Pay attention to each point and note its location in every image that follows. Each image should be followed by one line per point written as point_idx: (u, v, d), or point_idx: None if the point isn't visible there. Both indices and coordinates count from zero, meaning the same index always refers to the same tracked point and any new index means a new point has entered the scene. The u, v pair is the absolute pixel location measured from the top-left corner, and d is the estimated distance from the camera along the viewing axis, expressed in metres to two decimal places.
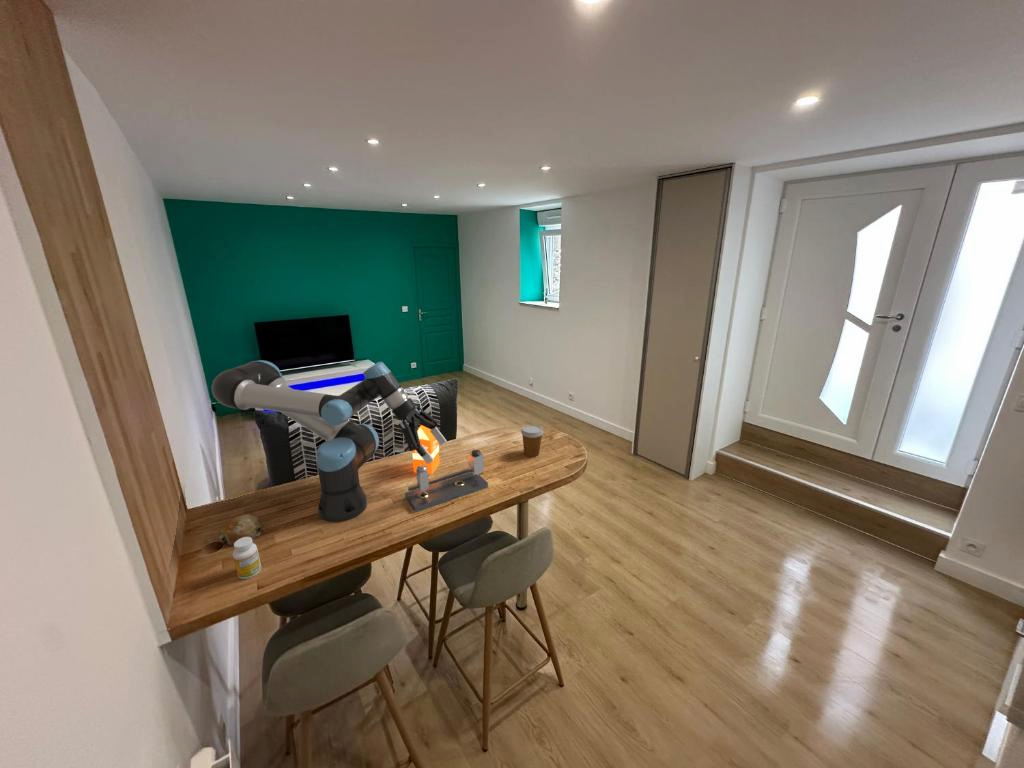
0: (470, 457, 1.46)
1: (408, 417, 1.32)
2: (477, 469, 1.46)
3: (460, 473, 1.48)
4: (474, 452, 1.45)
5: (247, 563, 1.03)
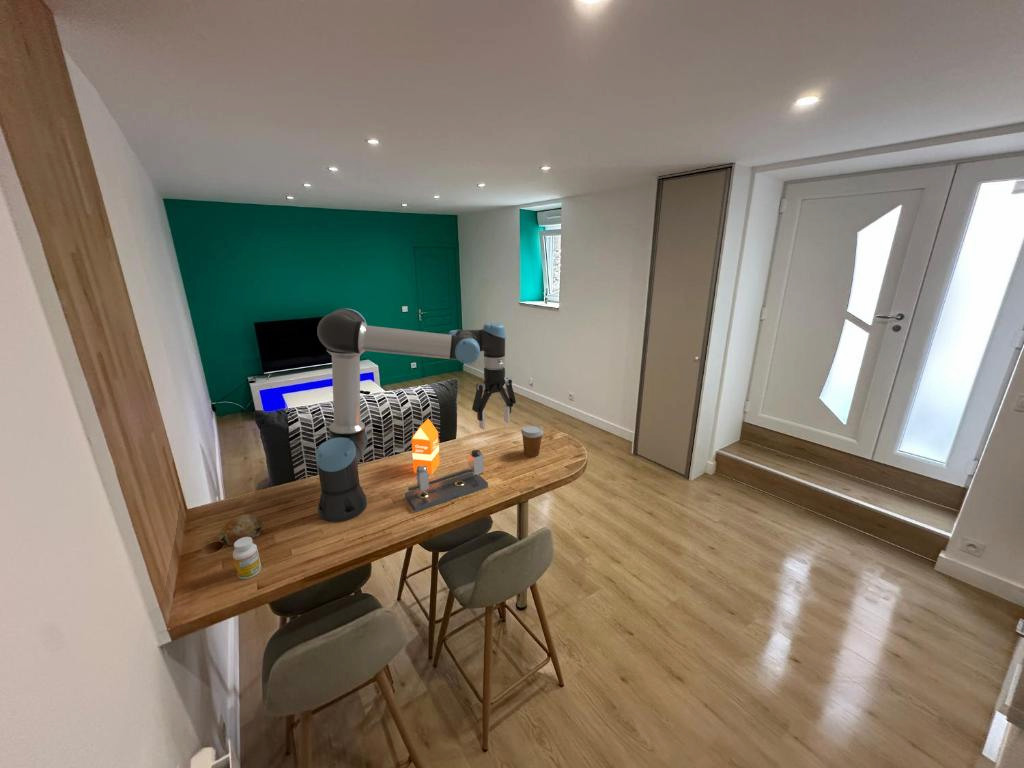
0: (470, 457, 1.46)
1: (488, 383, 1.40)
2: (477, 469, 1.46)
3: (460, 473, 1.48)
4: (474, 452, 1.45)
5: (247, 563, 1.03)
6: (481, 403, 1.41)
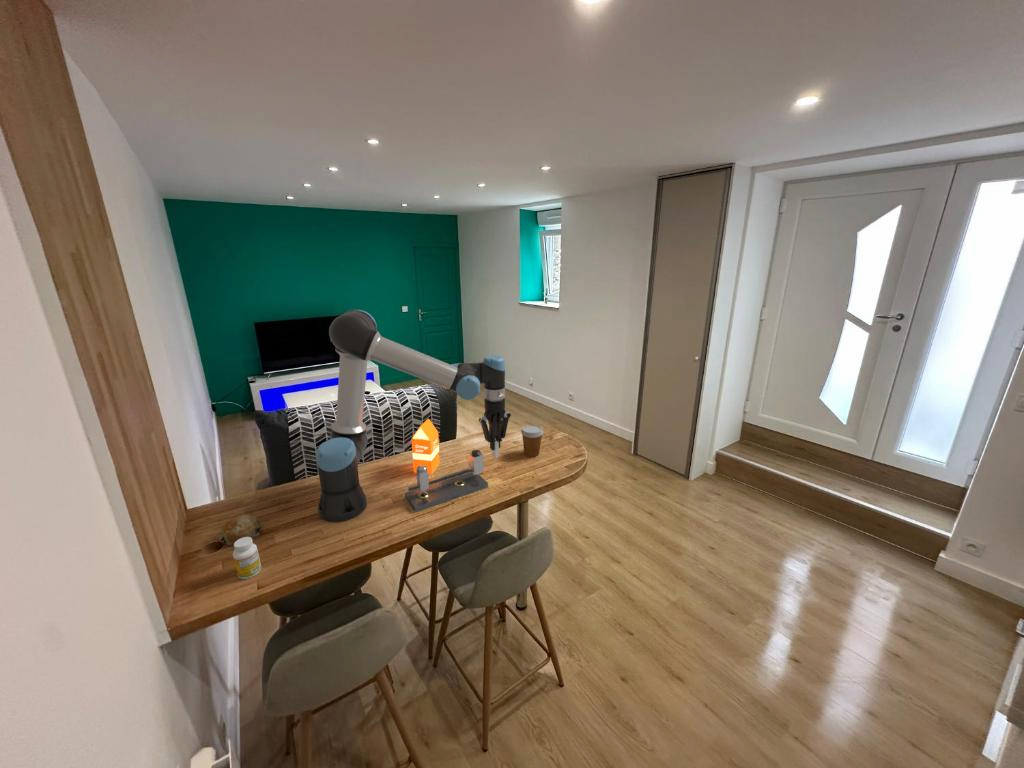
0: (470, 457, 1.46)
1: (488, 414, 1.43)
2: (477, 469, 1.46)
3: (460, 473, 1.48)
4: (474, 452, 1.45)
5: (247, 563, 1.03)
6: (490, 434, 1.47)
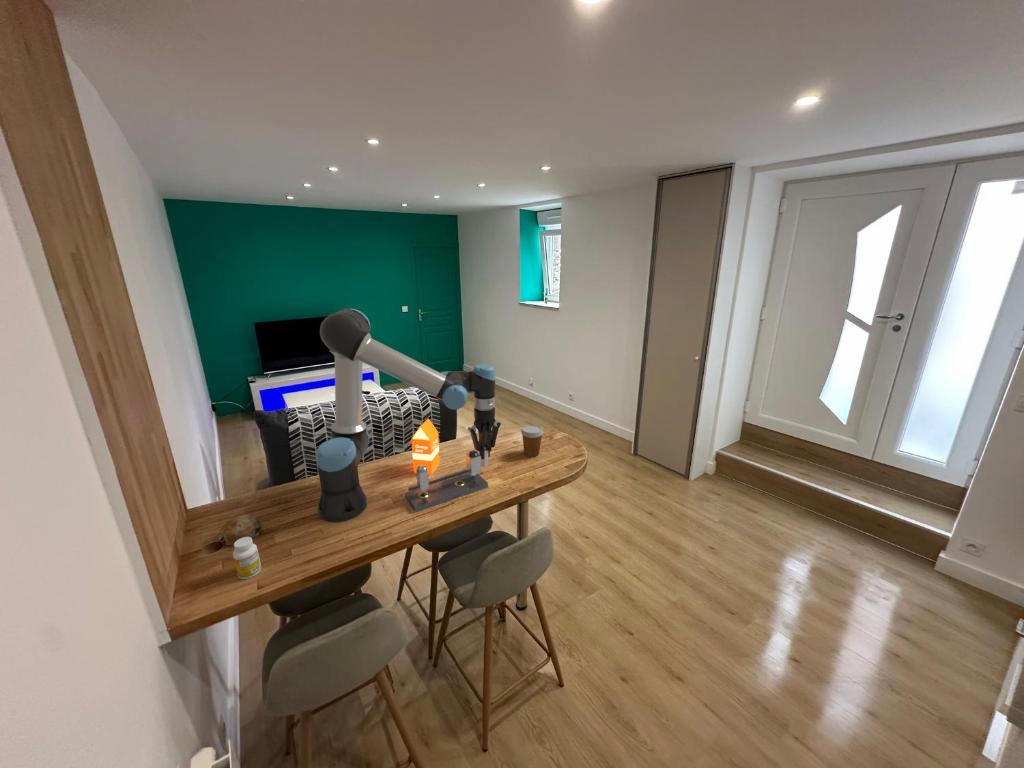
0: (467, 458, 1.45)
1: (478, 423, 1.42)
2: (474, 470, 1.45)
3: (460, 473, 1.48)
4: (471, 453, 1.45)
5: (247, 563, 1.03)
6: (480, 443, 1.46)
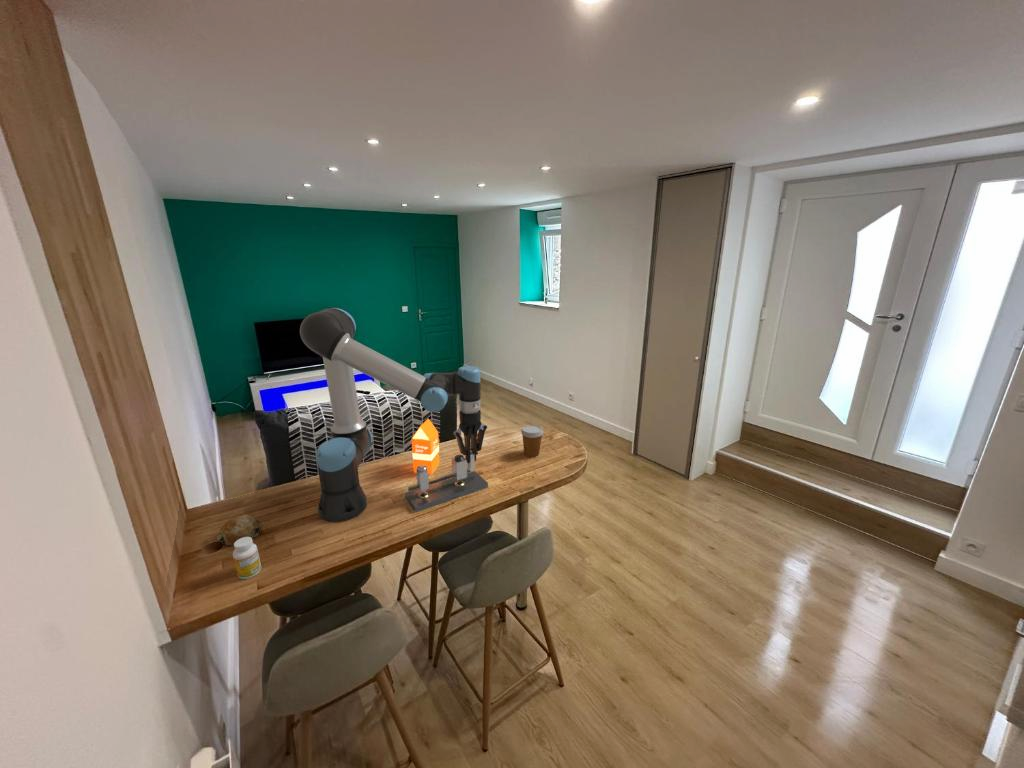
0: (453, 462, 1.42)
1: (463, 426, 1.38)
2: (460, 474, 1.42)
3: None
4: (457, 457, 1.42)
5: (247, 563, 1.03)
6: (466, 447, 1.43)
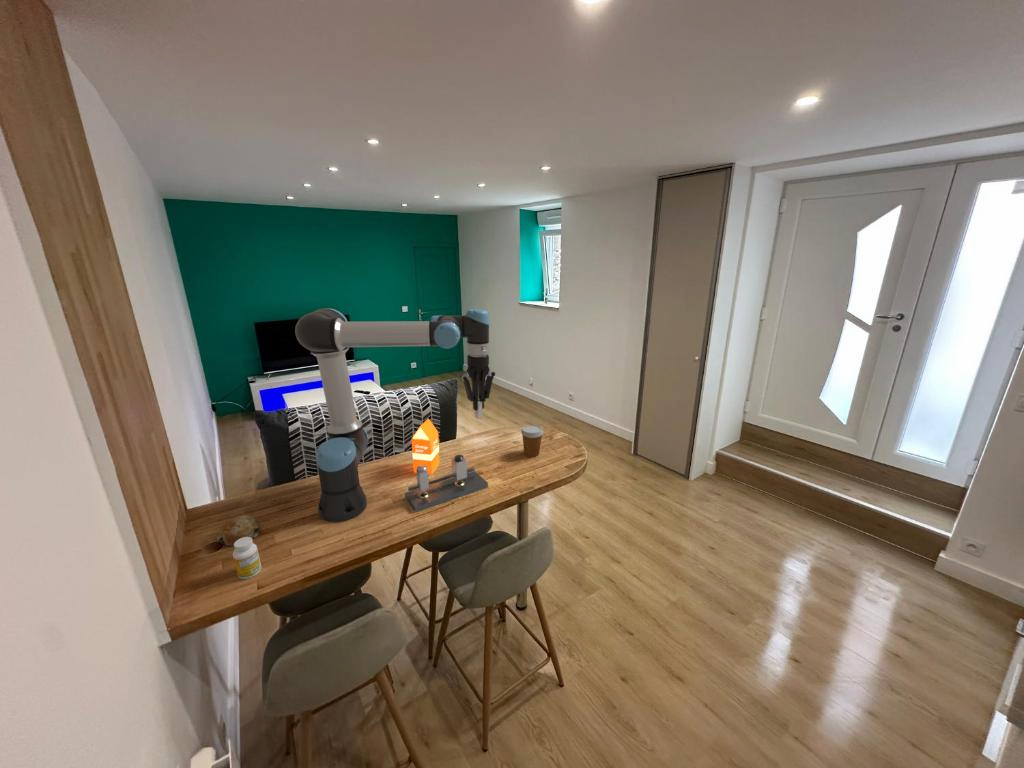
0: (453, 462, 1.42)
1: (471, 370, 1.36)
2: (460, 474, 1.42)
3: None
4: (457, 457, 1.41)
5: (247, 563, 1.03)
6: (473, 393, 1.41)
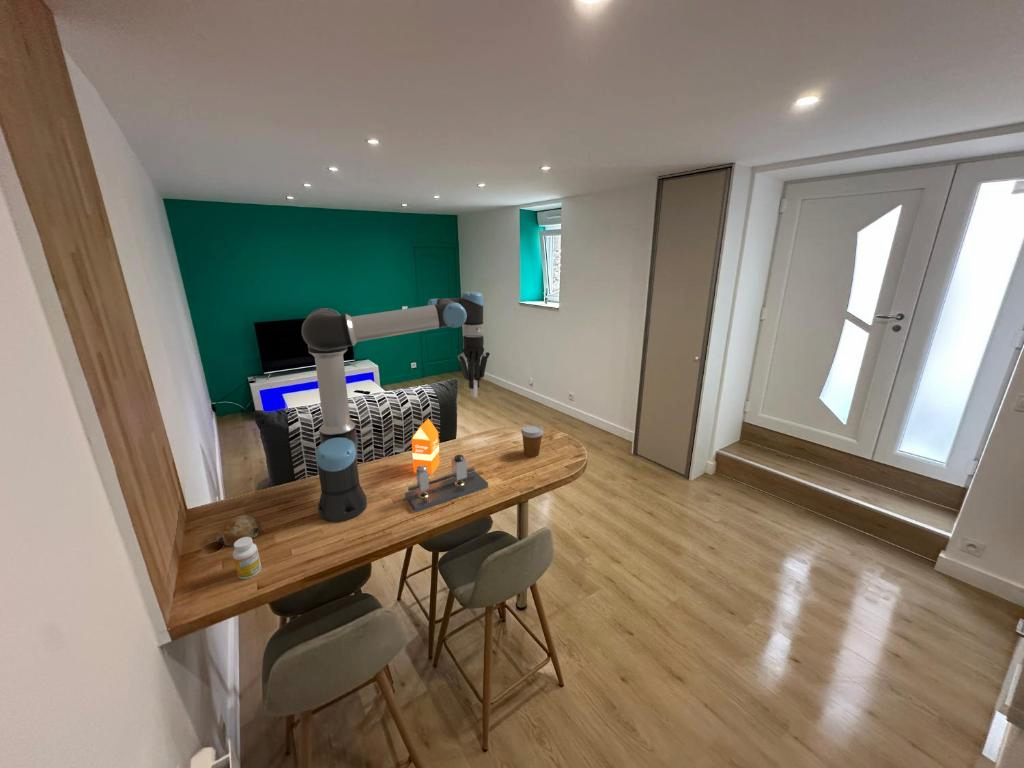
0: (453, 462, 1.42)
1: (466, 350, 1.44)
2: (460, 474, 1.42)
3: None
4: (457, 457, 1.41)
5: (247, 563, 1.03)
6: (469, 372, 1.48)
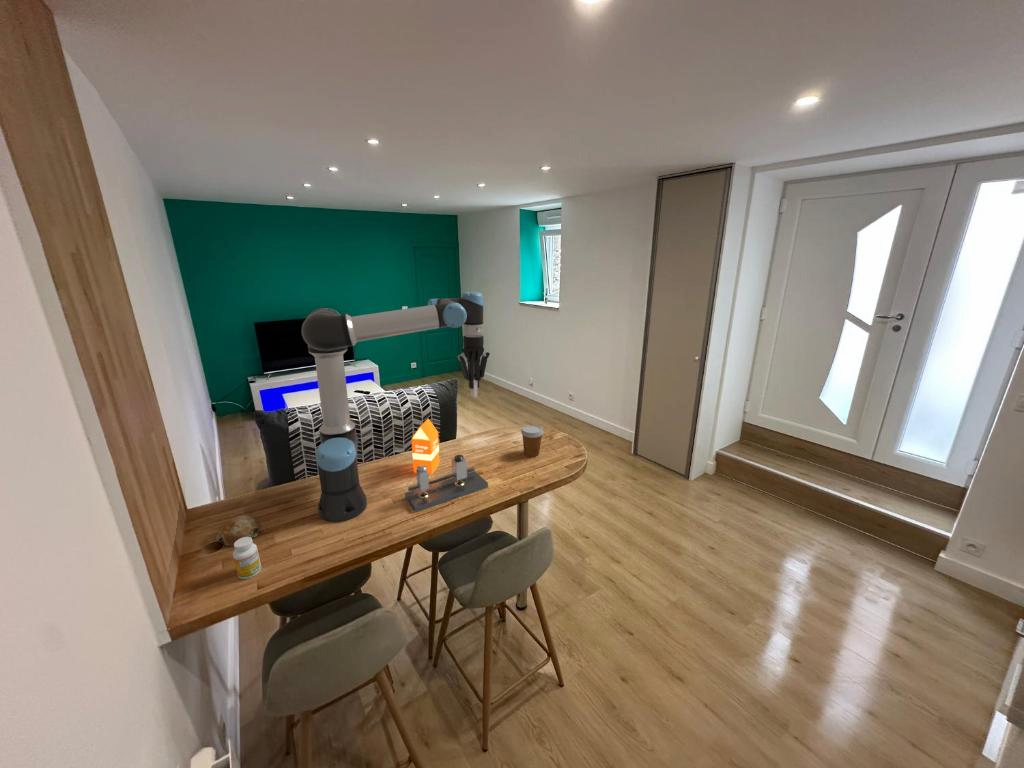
0: (453, 462, 1.42)
1: (466, 350, 1.44)
2: (460, 474, 1.42)
3: None
4: (457, 457, 1.41)
5: (247, 563, 1.03)
6: (469, 372, 1.48)
